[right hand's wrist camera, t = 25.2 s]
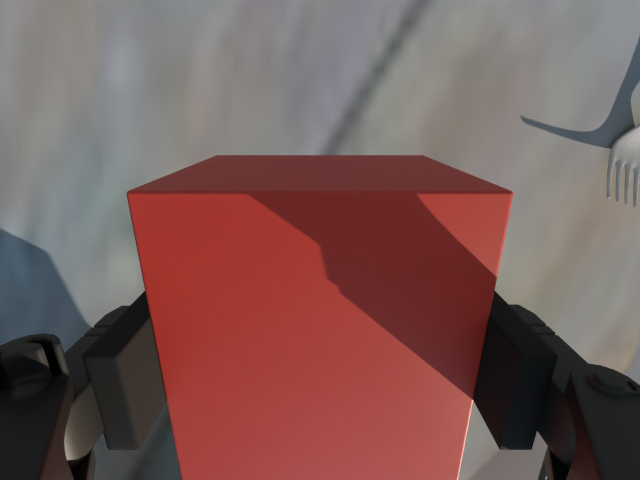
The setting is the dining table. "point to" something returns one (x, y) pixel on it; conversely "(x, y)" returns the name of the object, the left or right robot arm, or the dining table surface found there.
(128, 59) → the dining table surface
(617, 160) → the fork
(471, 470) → the dining table surface
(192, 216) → the brick
